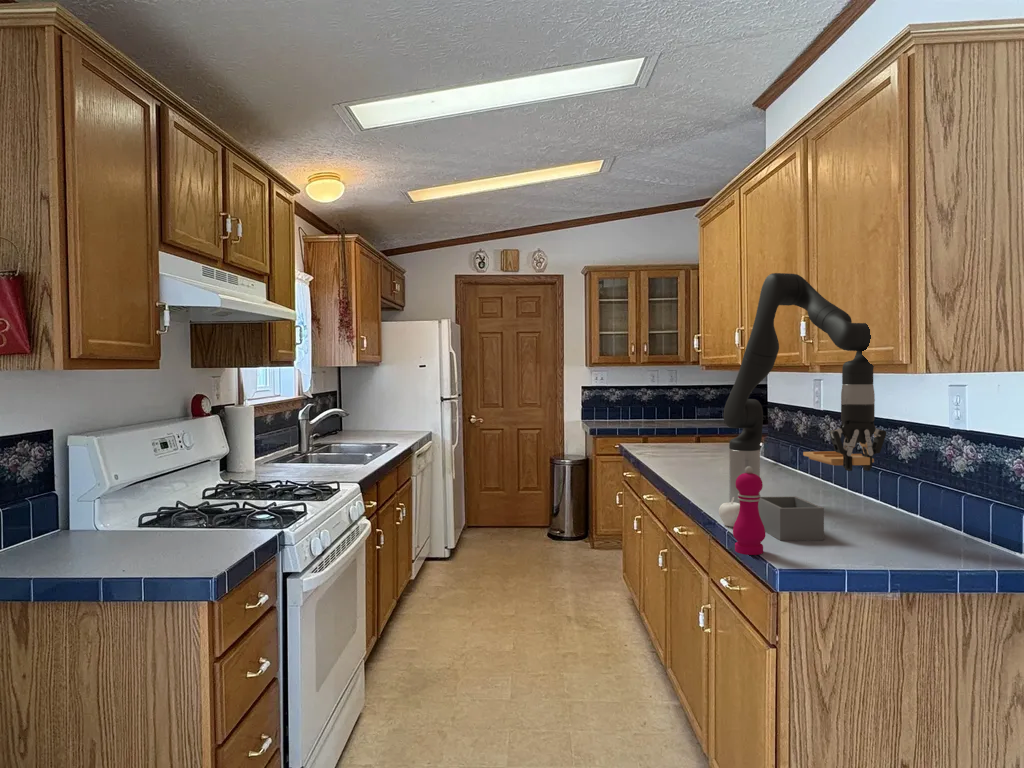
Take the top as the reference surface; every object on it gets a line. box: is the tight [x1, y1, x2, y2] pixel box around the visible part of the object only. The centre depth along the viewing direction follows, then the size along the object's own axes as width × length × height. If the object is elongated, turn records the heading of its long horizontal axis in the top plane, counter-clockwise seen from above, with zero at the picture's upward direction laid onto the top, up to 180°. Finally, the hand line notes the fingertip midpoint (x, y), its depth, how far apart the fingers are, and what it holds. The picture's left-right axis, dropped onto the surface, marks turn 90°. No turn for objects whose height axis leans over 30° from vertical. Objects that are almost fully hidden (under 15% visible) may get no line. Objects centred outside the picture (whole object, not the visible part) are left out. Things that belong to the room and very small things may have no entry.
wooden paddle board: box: [802, 450, 875, 466], centre depth 181 cm, size 20×11×3 cm, turn 1°
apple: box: [718, 497, 740, 528], centre depth 187 cm, size 7×7×8 cm
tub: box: [758, 495, 825, 541], centre depth 178 cm, size 16×11×8 cm
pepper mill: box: [732, 466, 766, 556], centre depth 160 cm, size 7×7×20 cm
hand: (857, 470), depth 173 cm, fingers closed on wooden paddle board, 4 cm apart
